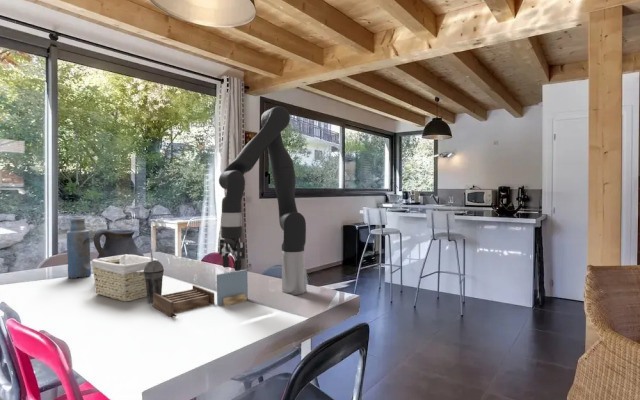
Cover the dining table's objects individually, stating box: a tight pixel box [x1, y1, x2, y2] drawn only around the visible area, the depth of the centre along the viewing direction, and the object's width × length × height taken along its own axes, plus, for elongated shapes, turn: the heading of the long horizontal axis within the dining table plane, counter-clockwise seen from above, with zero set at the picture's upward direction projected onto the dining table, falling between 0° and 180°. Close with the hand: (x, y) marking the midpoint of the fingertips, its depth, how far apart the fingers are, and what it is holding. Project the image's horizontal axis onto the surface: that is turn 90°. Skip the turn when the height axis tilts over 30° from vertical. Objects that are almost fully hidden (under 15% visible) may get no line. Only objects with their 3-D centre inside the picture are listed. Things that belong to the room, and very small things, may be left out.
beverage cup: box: [143, 249, 165, 304], centre depth 143 cm, size 7×7×20 cm
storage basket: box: [91, 254, 160, 302], centre depth 153 cm, size 24×16×15 cm
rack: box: [152, 284, 215, 318], centre depth 136 cm, size 16×16×5 cm
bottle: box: [66, 216, 92, 279], centre depth 187 cm, size 10×10×30 cm
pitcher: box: [93, 228, 145, 264], centre depth 179 cm, size 21×22×25 cm
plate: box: [216, 269, 249, 307], centre depth 138 cm, size 12×1×11 cm, turn 134°
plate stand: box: [222, 293, 248, 307], centre depth 138 cm, size 9×5×4 cm, turn 134°
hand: (231, 268), depth 138 cm, fingers open, 8 cm apart
